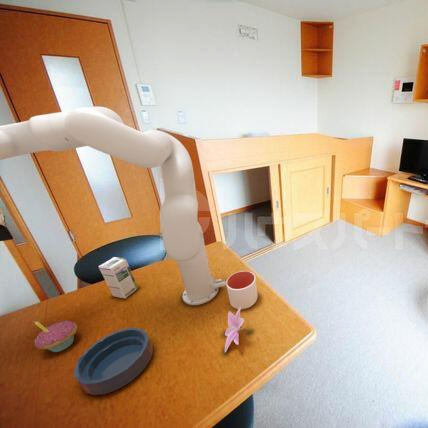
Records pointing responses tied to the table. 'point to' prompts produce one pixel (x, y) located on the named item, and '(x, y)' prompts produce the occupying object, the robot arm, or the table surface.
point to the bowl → (114, 361)
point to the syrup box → (118, 277)
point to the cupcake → (56, 336)
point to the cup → (242, 289)
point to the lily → (233, 328)
